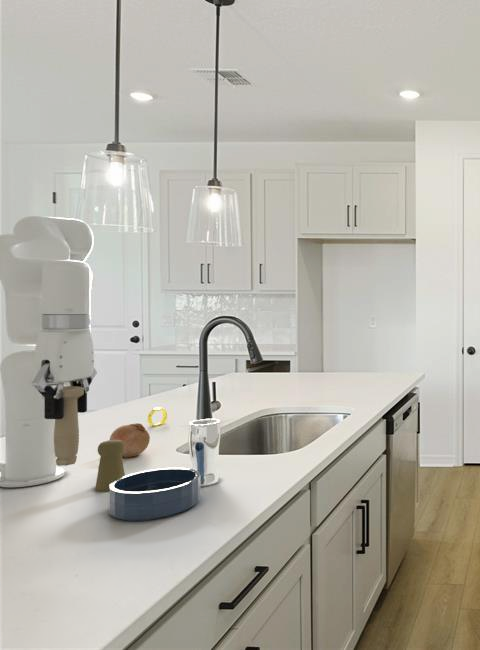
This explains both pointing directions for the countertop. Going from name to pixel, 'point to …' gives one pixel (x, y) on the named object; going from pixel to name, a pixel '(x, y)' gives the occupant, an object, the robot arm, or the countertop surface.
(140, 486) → the bowl
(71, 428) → the handle
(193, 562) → the countertop surface
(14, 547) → the countertop surface
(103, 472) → the olive tapered shaker
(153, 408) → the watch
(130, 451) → the onion
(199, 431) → the beer glass
